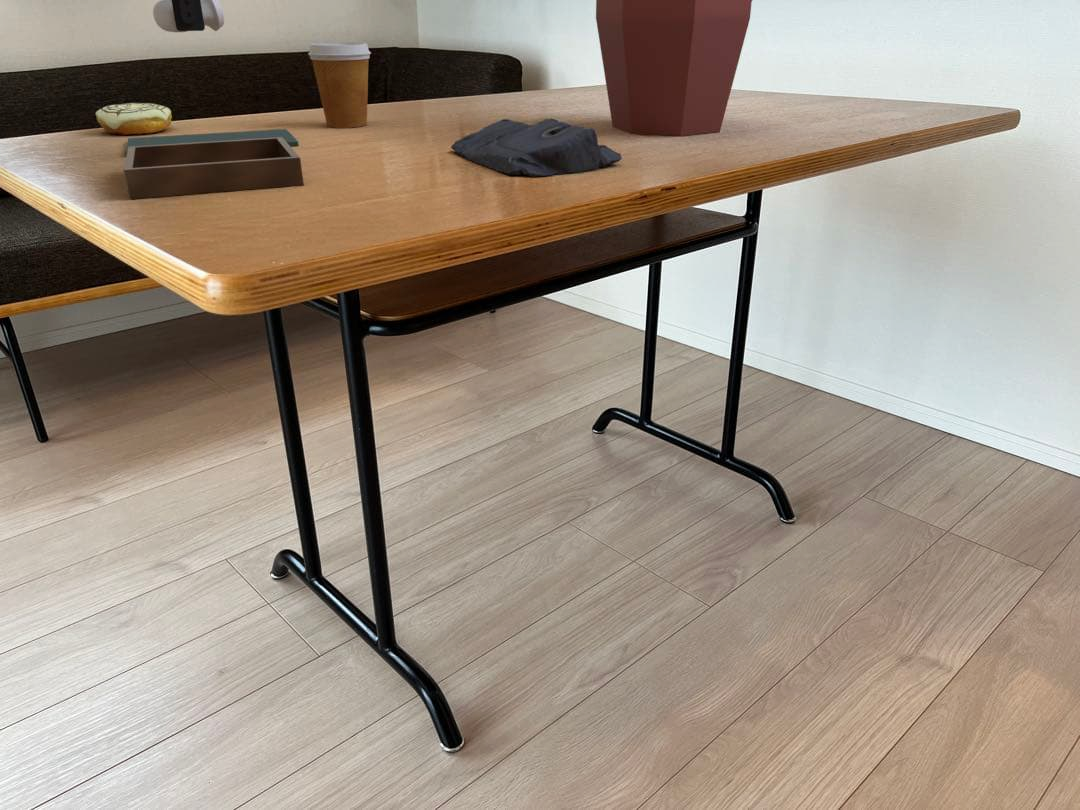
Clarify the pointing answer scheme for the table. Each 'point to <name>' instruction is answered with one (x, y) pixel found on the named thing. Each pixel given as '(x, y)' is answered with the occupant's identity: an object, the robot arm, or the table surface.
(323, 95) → the disposable coffee cup
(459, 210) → the table surface
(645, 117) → the bucket
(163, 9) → the smooth white sculpture
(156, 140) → the mat
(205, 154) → the brown rectangular tray
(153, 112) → the decorated donut
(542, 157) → the dark folded cloth
